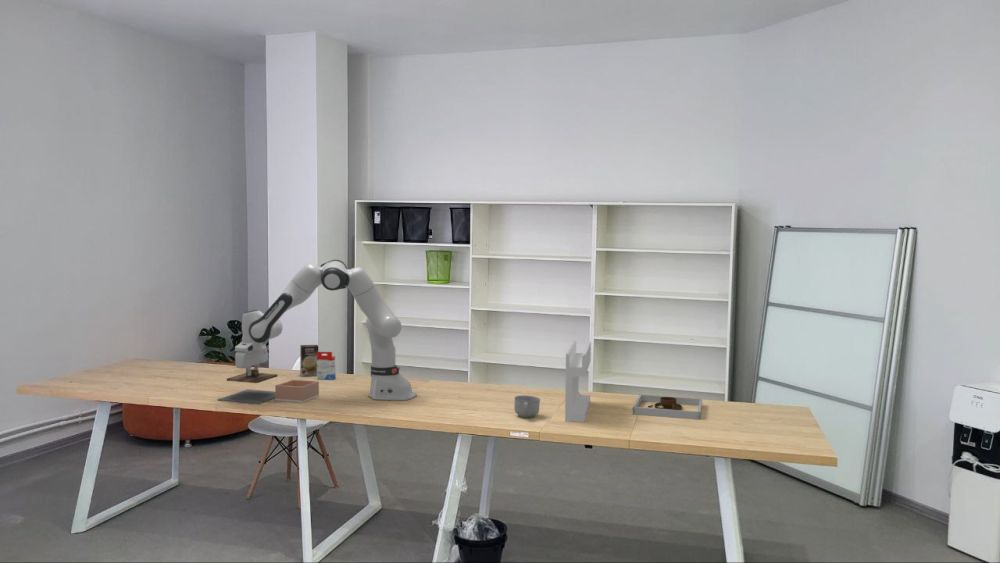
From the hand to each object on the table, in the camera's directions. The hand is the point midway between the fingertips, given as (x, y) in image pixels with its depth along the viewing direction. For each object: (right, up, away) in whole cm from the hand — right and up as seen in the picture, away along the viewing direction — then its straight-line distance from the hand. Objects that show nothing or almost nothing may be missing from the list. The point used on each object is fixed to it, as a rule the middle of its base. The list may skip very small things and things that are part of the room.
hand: (252, 374), depth 345 cm
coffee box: (+13, -7, +51) cm, 53 cm away
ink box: (+24, -8, +43) cm, 50 cm away
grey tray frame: (+189, -13, -18) cm, 190 cm away
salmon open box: (+21, -11, -1) cm, 24 cm away
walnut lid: (0, -2, 0) cm, 2 cm away
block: (+149, -13, -22) cm, 151 cm away
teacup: (+126, -14, -32) cm, 131 cm away
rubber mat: (0, -11, +1) cm, 11 cm away
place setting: (+187, -14, -19) cm, 189 cm away
